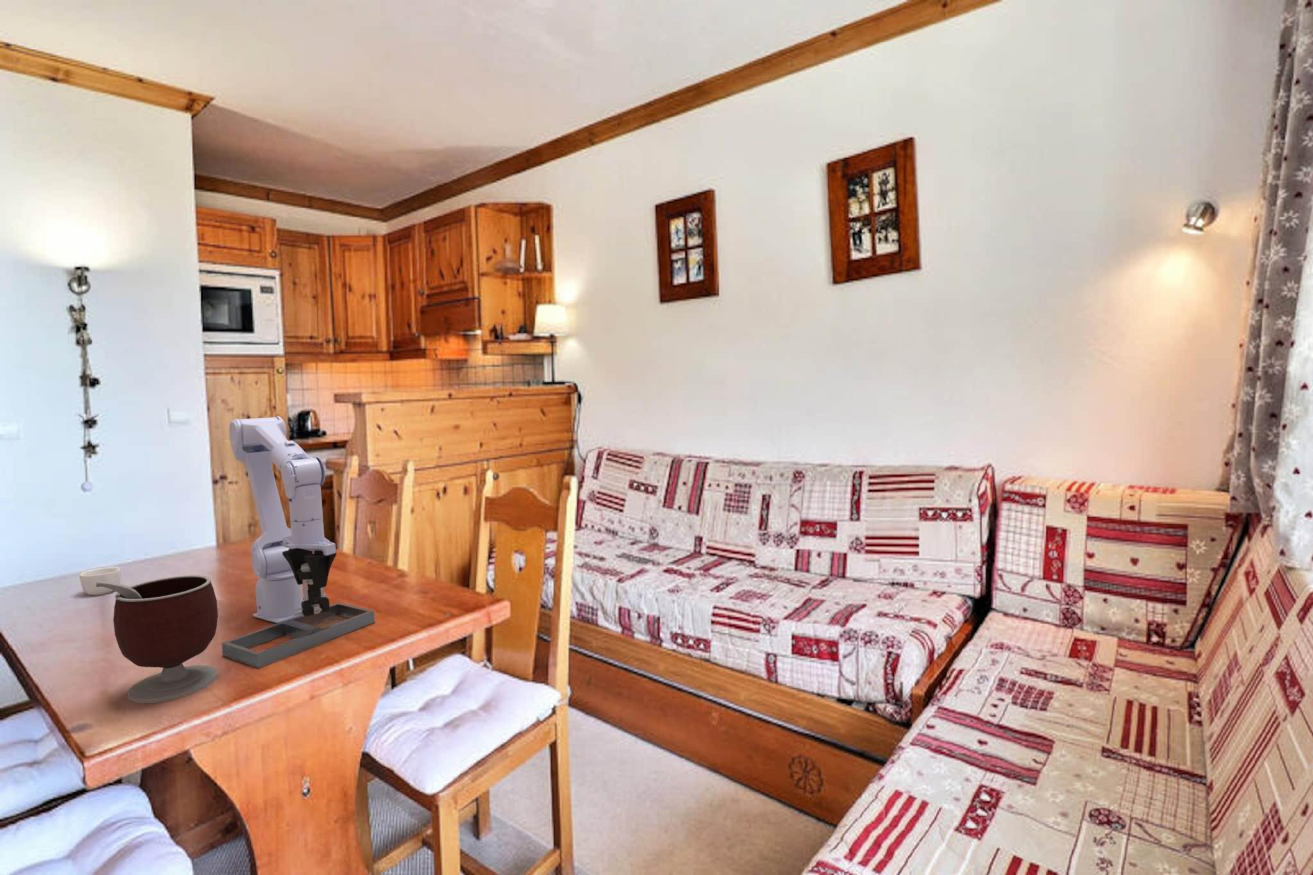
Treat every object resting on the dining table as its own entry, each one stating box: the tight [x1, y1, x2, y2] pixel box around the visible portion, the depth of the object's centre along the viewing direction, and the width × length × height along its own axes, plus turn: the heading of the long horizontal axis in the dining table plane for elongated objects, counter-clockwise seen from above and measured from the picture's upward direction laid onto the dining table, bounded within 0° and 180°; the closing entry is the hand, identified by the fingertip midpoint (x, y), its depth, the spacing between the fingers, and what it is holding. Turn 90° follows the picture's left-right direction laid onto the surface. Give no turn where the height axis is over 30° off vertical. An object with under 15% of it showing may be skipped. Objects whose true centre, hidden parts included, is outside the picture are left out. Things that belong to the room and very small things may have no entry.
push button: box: [293, 563, 330, 616], centre depth 130 cm, size 7×5×10 cm
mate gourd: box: [96, 574, 219, 704], centre depth 109 cm, size 16×14×20 cm
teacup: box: [79, 566, 122, 596], centre depth 161 cm, size 10×8×5 cm
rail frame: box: [221, 602, 376, 669], centre depth 129 cm, size 12×24×2 cm, turn 150°
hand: (311, 585), depth 131 cm, fingers closed on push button, 5 cm apart
